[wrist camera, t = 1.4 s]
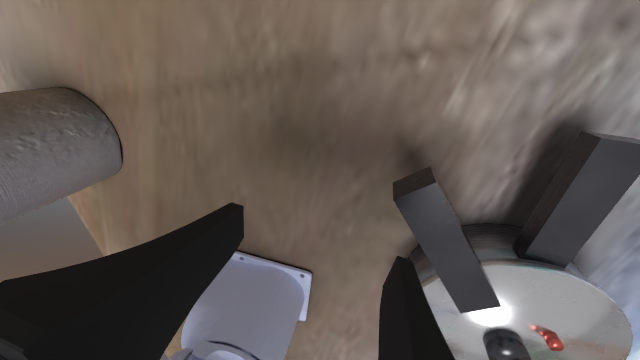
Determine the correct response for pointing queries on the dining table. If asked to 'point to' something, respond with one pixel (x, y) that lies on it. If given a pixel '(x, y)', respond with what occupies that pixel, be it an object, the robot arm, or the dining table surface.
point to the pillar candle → (51, 148)
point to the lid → (505, 293)
